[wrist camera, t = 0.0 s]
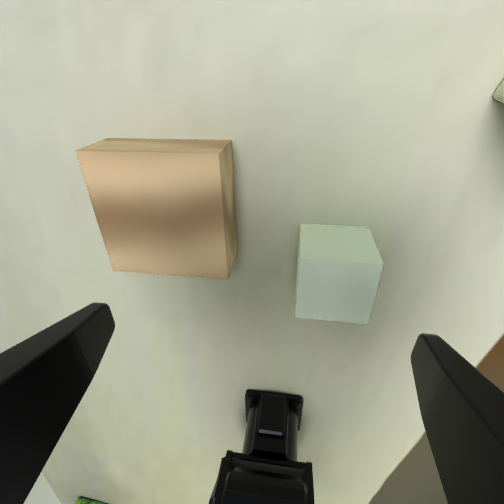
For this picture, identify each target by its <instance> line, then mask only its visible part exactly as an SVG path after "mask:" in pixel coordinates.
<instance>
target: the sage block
mask: <svg viewBox="0 0 504 504" xmlns="http://www.w3.org/2000/svg"><path fill="white" fill-rule="evenodd" d="M383 265H384V263H383V261H382V258H381V256H380V253H379V251H378V248H377V246H376V243H375V241H374V239H373V236H372V234H371V231H370V229H369V227H365V226H344V225H323V224H302V223H300V232H299V246H298V259H297V273H296V302H295V318H304V319H315V320H327V321H338V322H350V323H362V324H368V323H369V319H370V316H371V312H372V308H373V304H374V300H375V296H376V292H377V288H378V284H379V280H380V277H381V273H382V269H383Z"/></svg>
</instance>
